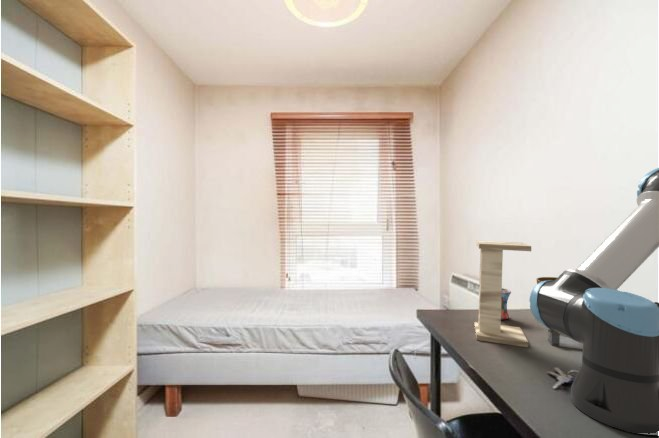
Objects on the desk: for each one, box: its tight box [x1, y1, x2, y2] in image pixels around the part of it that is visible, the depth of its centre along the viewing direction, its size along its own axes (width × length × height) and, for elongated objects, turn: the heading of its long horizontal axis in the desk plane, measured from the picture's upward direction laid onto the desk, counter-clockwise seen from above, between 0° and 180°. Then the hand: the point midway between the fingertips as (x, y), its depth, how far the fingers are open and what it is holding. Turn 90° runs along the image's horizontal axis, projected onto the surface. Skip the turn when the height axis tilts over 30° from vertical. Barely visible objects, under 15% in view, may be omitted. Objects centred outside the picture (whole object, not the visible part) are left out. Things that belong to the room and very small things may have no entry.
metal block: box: [547, 328, 583, 350], centre depth 97 cm, size 22×4×4 cm, turn 69°
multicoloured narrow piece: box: [501, 287, 512, 320], centre depth 126 cm, size 12×9×11 cm
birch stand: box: [473, 240, 532, 348], centre depth 105 cm, size 14×14×30 cm
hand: (640, 312), depth 93 cm, fingers open, 13 cm apart
